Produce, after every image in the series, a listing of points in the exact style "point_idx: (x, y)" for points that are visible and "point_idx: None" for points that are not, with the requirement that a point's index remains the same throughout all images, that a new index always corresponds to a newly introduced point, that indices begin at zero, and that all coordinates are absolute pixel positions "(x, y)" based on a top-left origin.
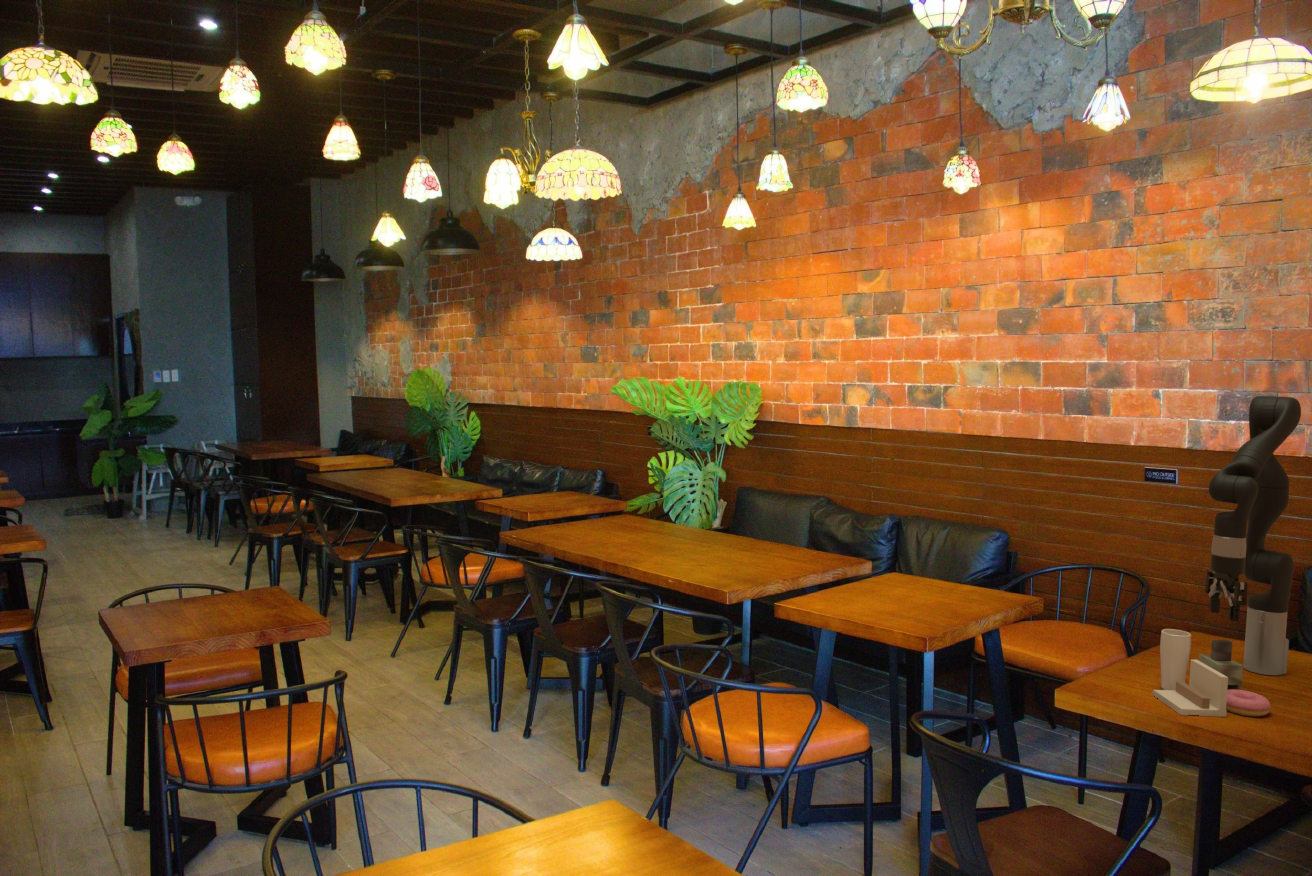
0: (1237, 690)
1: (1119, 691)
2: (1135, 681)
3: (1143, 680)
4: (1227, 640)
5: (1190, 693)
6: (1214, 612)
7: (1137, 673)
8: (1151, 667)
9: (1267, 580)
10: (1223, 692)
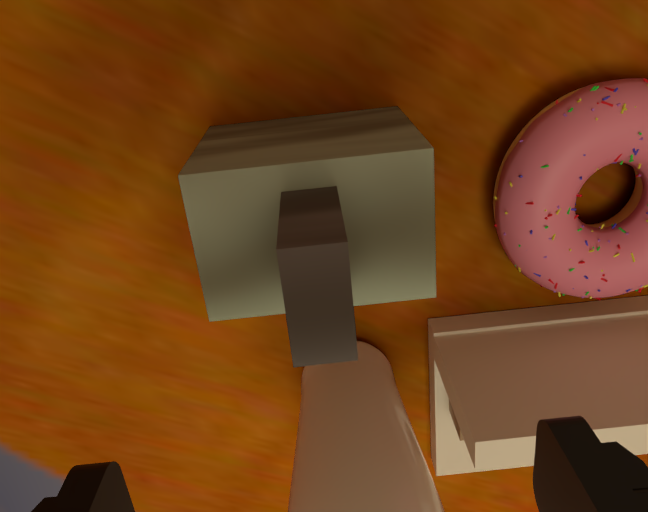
0: (555, 212)
1: None
2: (260, 465)
3: (238, 436)
4: (299, 261)
5: None
6: (127, 501)
7: (139, 431)
8: (10, 352)
9: None
10: None
